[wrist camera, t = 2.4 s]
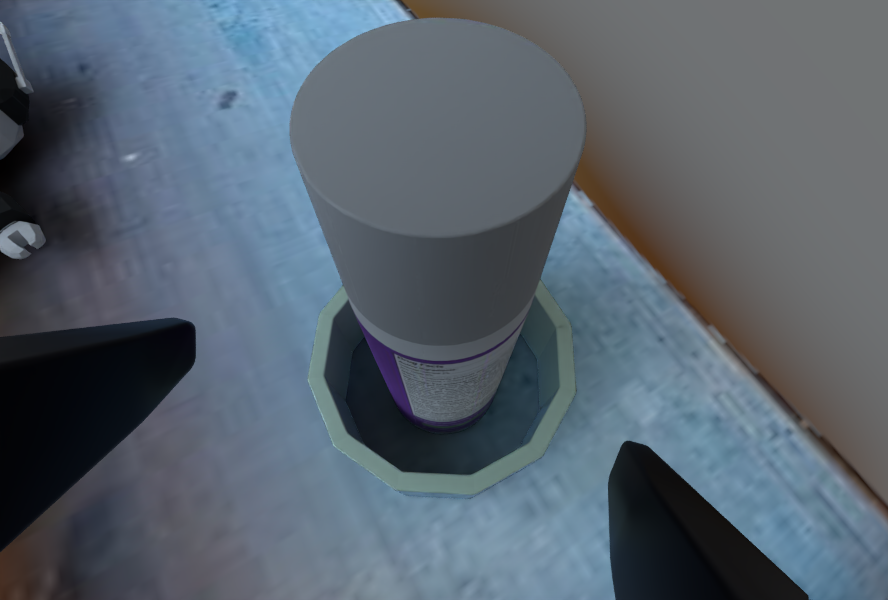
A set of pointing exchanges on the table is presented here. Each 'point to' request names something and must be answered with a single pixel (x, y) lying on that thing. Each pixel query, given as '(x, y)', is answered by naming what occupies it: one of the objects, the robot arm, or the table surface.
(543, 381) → the pale green faceted ring
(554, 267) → the table surface
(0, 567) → the table surface
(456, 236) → the container
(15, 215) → the robot toy
